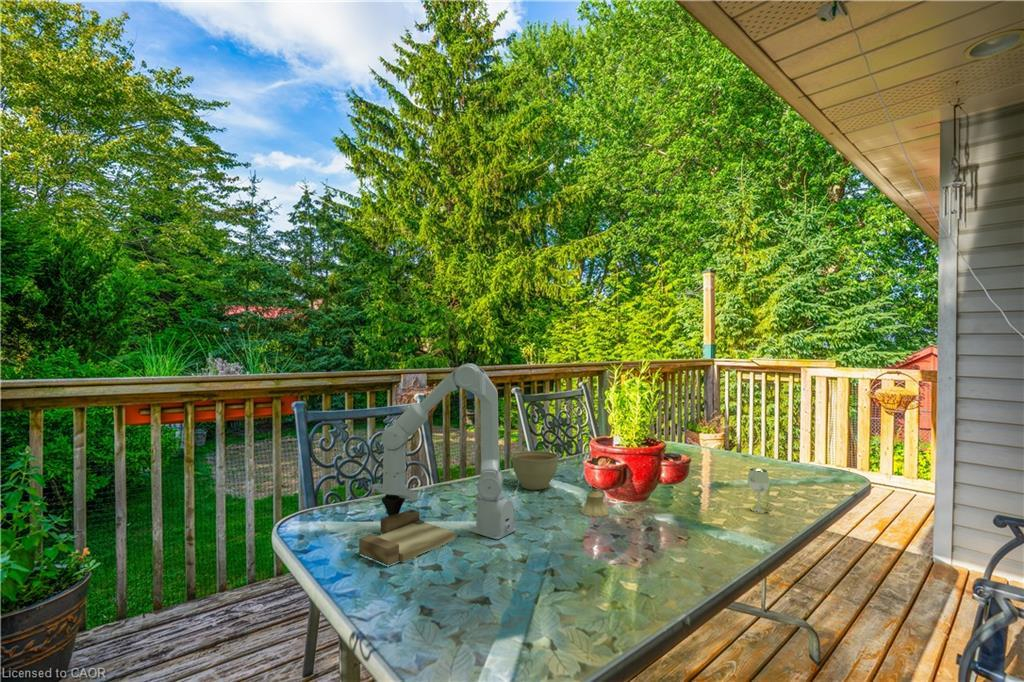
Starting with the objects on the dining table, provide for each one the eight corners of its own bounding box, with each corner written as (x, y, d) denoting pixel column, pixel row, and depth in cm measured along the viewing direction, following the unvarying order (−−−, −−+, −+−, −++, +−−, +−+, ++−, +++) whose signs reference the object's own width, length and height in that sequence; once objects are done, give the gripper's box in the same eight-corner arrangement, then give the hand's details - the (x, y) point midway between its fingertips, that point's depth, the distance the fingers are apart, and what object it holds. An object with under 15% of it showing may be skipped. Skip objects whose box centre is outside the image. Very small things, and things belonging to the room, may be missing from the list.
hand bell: (601, 519, 138) (601, 462, 139) (575, 513, 143) (575, 458, 144) (614, 511, 145) (614, 457, 145) (589, 506, 150) (589, 453, 150)
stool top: (455, 540, 123) (455, 523, 123) (391, 569, 106) (391, 550, 106) (419, 528, 130) (419, 513, 130) (353, 553, 114) (353, 536, 114)
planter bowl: (566, 484, 174) (566, 453, 174) (544, 496, 160) (544, 462, 160) (526, 478, 182) (526, 448, 182) (502, 488, 168) (502, 456, 169)
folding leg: (419, 526, 131) (419, 510, 131) (387, 537, 123) (387, 520, 123) (412, 524, 133) (412, 508, 133) (380, 534, 125) (380, 517, 125)
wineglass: (764, 508, 149) (764, 468, 150) (772, 514, 144) (772, 472, 144) (744, 507, 150) (744, 467, 150) (752, 513, 144) (752, 472, 144)
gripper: (425, 472, 129) (425, 524, 129) (385, 464, 137) (384, 514, 137) (406, 478, 123) (406, 532, 123) (366, 470, 131) (365, 521, 131)
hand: (393, 523), depth 130 cm, fingers closed
